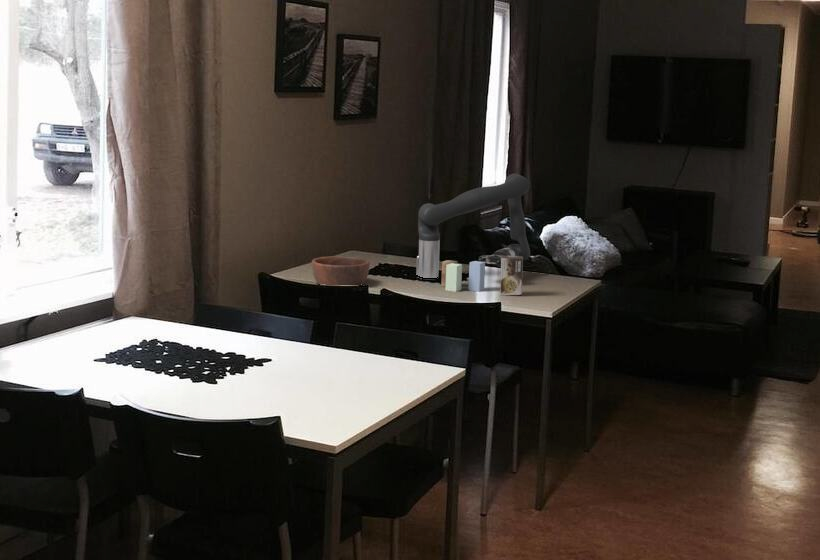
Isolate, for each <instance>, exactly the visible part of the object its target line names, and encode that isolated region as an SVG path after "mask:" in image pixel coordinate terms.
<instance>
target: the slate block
mask: <svg viewBox="0 0 820 560" xmlns="http://www.w3.org/2000/svg"><path fill="white" fill-rule="evenodd" d="M468 269H469V270H468V291H471V292H482V291H485V275H486V263H485V262H479V260H474V261H473V260H472V261H470V262H469V267H468Z"/></svg>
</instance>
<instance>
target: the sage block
mask: <svg viewBox="0 0 820 560" xmlns="http://www.w3.org/2000/svg"><path fill="white" fill-rule="evenodd" d="M462 272H463V264H461V263H458V264H454V263H451V264H447V265H446V287H444V288H445V291H447V292H448V291H449V292H454V293H456V292H459V291H461V290H462V281H463V280H462V277H463V275H462V274H463V273H462Z"/></svg>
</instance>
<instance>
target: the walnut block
mask: <svg viewBox="0 0 820 560" xmlns="http://www.w3.org/2000/svg"><path fill="white" fill-rule="evenodd" d="M458 262H459V261H458V260H449V259H448V260H447V259H446V260H444V261H441V281H440V282H441V284H440V285H441V288H446V265H447V264H451V263H454V264H459V263H458Z"/></svg>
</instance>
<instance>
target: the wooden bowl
mask: <svg viewBox="0 0 820 560" xmlns="http://www.w3.org/2000/svg"><path fill="white" fill-rule="evenodd" d="M370 265H371V262H370V260H369V259H367V258H363V257H357V256H347V255H346V256H344V255H343V256H342V255H336V256H335V255H334V256H333V255H332V256H320V257H317V258H316V257H315V258H313V259H312V260H311V269H312V275H313V278H314V280H315V282H316V283H317V285H319V284H326V285H361V284H363V285H364V284H365V283H366V281H367V279H368V276H369V271H370ZM361 286H362V285H361Z"/></svg>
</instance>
